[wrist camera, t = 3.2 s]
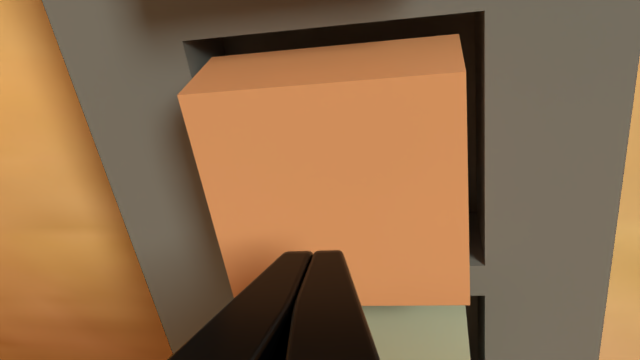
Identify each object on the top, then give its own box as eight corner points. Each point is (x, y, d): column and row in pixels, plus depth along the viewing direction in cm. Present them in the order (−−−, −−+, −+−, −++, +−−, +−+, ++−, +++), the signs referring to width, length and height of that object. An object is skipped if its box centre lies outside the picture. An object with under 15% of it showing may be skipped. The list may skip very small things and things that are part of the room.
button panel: (561, 376, 17) (584, 464, 15) (234, 370, 19) (207, 448, 17) (644, -522, 8) (736, -669, 6) (13, -359, 10) (-113, -416, 8)
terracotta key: (463, 244, 12) (470, 305, 10) (258, 249, 13) (236, 306, 11) (459, 34, 10) (465, 71, 8) (211, 57, 11) (177, 95, 9)
